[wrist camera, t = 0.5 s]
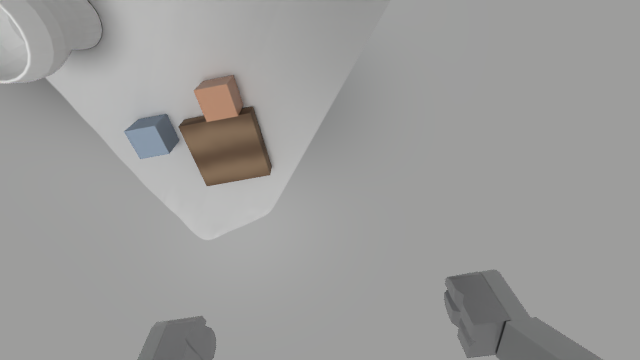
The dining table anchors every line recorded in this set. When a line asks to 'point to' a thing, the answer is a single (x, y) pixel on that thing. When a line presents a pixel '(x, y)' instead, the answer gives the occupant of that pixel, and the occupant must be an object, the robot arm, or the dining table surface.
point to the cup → (43, 36)
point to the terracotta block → (219, 98)
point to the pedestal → (227, 147)
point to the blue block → (152, 136)
